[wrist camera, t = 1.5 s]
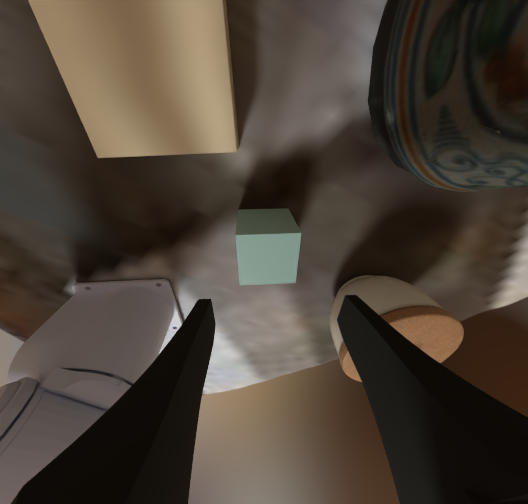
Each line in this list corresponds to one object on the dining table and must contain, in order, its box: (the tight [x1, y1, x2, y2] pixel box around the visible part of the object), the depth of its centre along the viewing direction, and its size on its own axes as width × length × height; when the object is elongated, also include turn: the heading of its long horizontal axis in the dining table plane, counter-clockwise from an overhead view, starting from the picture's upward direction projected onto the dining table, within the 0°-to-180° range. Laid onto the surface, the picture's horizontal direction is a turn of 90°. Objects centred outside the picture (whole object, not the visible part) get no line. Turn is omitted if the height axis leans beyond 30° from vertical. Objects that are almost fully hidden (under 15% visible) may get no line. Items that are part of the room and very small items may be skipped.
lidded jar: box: [329, 275, 464, 382], centre depth 20 cm, size 11×11×9 cm
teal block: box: [236, 208, 301, 285], centre depth 17 cm, size 4×4×5 cm
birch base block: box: [28, 0, 239, 158], centre depth 11 cm, size 8×8×4 cm
